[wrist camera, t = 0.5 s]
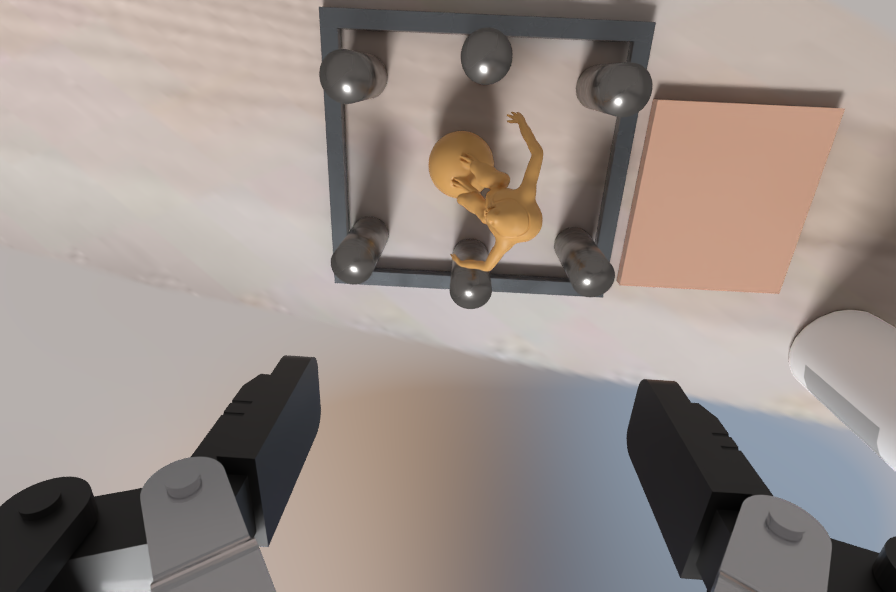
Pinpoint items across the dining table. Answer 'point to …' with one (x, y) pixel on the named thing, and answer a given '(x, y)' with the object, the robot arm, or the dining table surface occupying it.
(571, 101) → the dining table surface
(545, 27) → the standoff field
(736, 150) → the terracotta tile
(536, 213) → the figurine
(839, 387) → the white piece
